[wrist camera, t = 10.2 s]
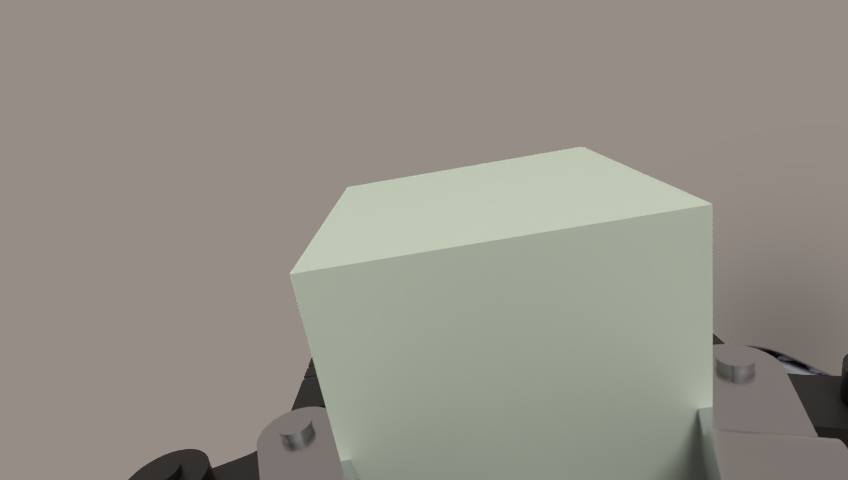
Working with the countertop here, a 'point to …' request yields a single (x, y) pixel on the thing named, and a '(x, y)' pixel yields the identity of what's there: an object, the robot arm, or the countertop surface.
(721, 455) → the robot arm
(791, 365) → the countertop surface
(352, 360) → the sage block
